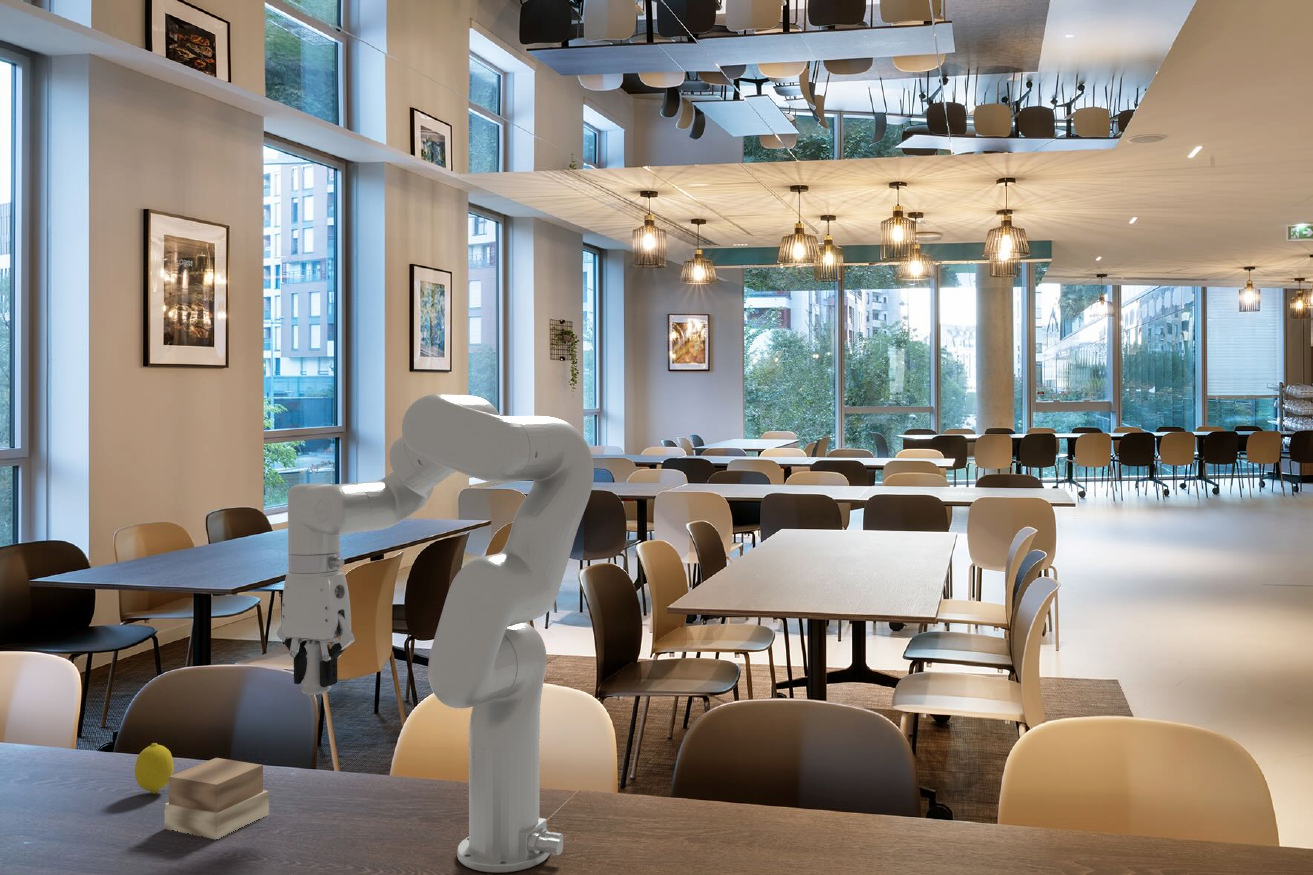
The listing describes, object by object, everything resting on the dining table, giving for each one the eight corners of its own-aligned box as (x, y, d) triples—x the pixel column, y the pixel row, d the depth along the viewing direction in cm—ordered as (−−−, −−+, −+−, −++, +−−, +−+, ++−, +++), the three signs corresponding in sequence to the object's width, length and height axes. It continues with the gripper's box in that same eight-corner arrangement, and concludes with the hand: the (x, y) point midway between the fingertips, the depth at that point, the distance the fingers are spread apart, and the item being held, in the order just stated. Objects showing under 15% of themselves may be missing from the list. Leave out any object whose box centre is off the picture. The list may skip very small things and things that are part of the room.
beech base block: (269, 817, 155) (269, 791, 155) (216, 842, 146) (216, 814, 146) (218, 807, 159) (218, 781, 159) (164, 831, 150) (164, 803, 150)
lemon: (135, 790, 165) (135, 740, 165) (173, 785, 168) (173, 736, 167) (134, 802, 160) (134, 750, 160) (173, 796, 163) (173, 745, 162)
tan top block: (262, 791, 155) (262, 765, 155) (217, 812, 146) (217, 784, 146) (216, 783, 158) (216, 757, 158) (168, 803, 150) (168, 776, 150)
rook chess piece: (335, 688, 160) (335, 636, 160) (323, 695, 156) (323, 642, 156) (308, 687, 161) (307, 636, 161) (295, 695, 156) (294, 642, 156)
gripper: (375, 563, 158) (376, 683, 159) (289, 559, 165) (290, 673, 165) (341, 570, 151) (343, 694, 152) (253, 565, 158) (255, 684, 158)
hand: (315, 682), depth 158 cm, fingers closed on rook chess piece, 4 cm apart
